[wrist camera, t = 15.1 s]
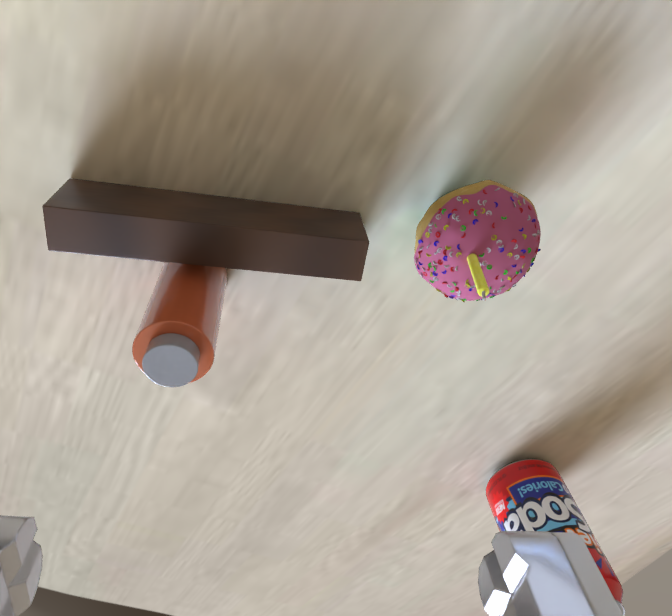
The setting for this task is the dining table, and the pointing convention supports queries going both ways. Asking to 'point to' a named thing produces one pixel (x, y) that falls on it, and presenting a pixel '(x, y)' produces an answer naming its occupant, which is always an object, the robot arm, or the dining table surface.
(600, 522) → the dining table surface
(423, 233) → the cupcake
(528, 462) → the soda can
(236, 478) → the dining table surface
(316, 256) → the wall
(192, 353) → the capped bottle
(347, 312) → the dining table surface
